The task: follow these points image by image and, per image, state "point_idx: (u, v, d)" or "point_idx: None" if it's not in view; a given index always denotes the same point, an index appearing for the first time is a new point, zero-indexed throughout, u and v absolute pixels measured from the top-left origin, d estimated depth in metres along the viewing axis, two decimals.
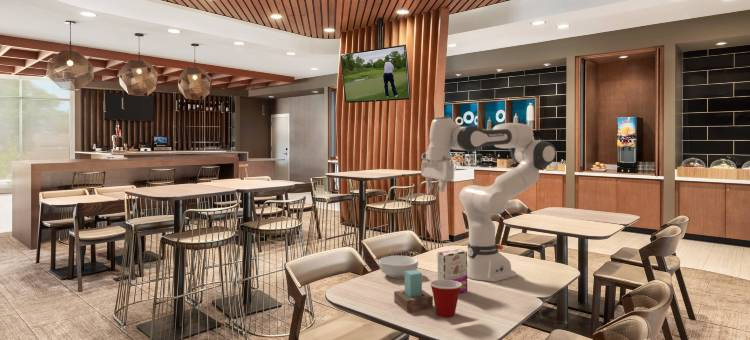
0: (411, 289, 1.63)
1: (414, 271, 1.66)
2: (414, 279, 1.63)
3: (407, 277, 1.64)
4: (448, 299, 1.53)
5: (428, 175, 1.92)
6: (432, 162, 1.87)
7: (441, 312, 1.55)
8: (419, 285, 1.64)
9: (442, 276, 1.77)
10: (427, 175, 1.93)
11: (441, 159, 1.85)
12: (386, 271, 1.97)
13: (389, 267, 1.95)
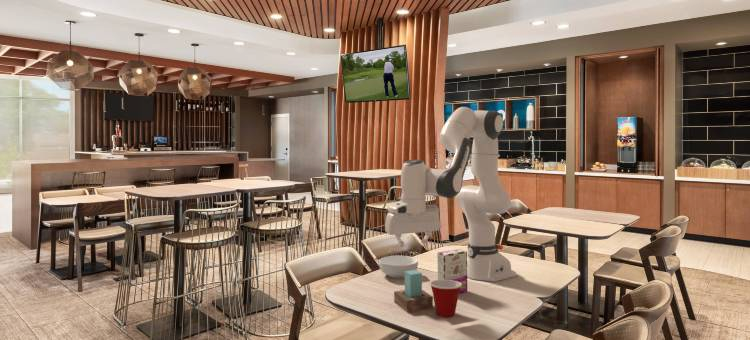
0: (411, 289, 1.63)
1: (414, 271, 1.66)
2: (414, 279, 1.63)
3: (407, 277, 1.64)
4: (448, 299, 1.53)
5: (406, 231, 1.61)
6: (419, 215, 1.61)
7: (441, 312, 1.55)
8: (419, 285, 1.64)
9: (442, 276, 1.77)
10: (404, 231, 1.60)
11: None
12: (386, 271, 1.97)
13: (389, 267, 1.95)
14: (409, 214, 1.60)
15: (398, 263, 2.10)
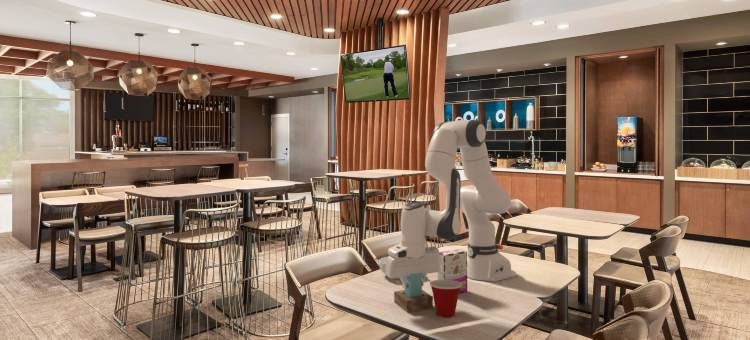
0: (411, 289, 1.63)
1: None
2: (414, 279, 1.63)
3: (408, 277, 1.64)
4: (448, 299, 1.53)
5: (406, 274, 1.62)
6: (419, 258, 1.62)
7: (441, 312, 1.55)
8: (419, 285, 1.64)
9: (442, 276, 1.77)
10: (404, 274, 1.62)
11: None
12: None
13: None
14: (409, 257, 1.62)
15: None
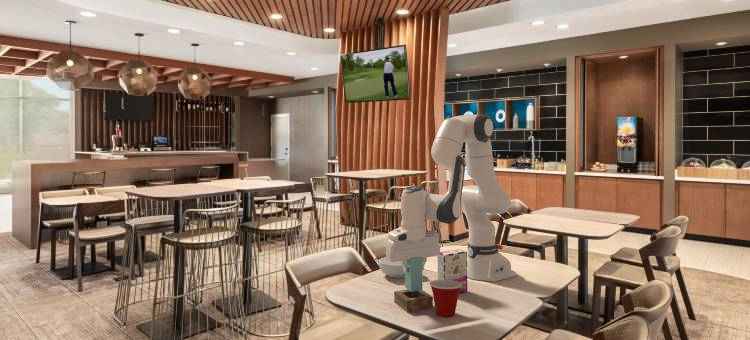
0: (412, 273, 1.62)
1: None
2: (414, 263, 1.62)
3: (408, 260, 1.64)
4: (448, 299, 1.53)
5: (406, 257, 1.62)
6: (419, 241, 1.62)
7: (441, 312, 1.55)
8: (419, 269, 1.63)
9: (442, 276, 1.77)
10: (404, 258, 1.61)
11: None
12: (386, 271, 1.97)
13: (389, 267, 1.95)
14: (409, 241, 1.61)
15: (398, 263, 2.10)
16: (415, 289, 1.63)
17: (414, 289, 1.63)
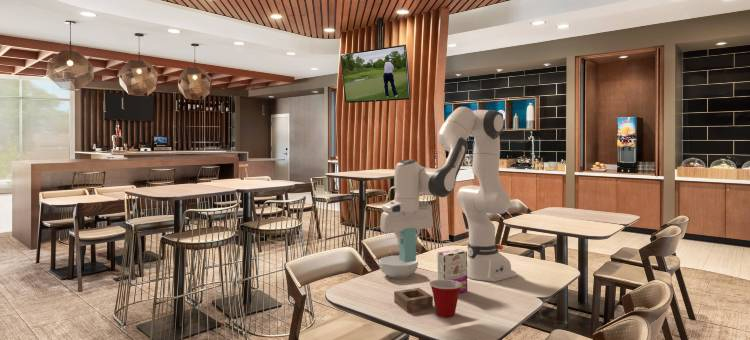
0: (405, 244, 1.66)
1: None
2: (408, 234, 1.66)
3: (402, 232, 1.68)
4: (448, 299, 1.53)
5: (400, 229, 1.66)
6: (412, 213, 1.66)
7: (441, 312, 1.55)
8: (413, 240, 1.67)
9: (442, 276, 1.77)
10: (398, 229, 1.65)
11: None
12: (386, 271, 1.97)
13: (389, 267, 1.95)
14: (403, 213, 1.65)
15: (398, 263, 2.10)
16: (409, 260, 1.67)
17: (408, 260, 1.67)
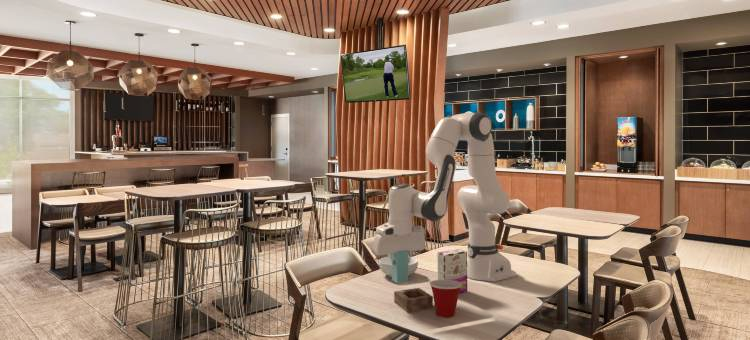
0: (398, 265, 1.72)
1: None
2: (401, 256, 1.72)
3: (395, 254, 1.73)
4: (448, 299, 1.53)
5: (393, 251, 1.71)
6: (405, 235, 1.71)
7: (441, 312, 1.55)
8: (405, 262, 1.73)
9: (442, 276, 1.77)
10: (391, 251, 1.71)
11: None
12: (386, 271, 1.97)
13: (389, 267, 1.95)
14: (396, 235, 1.71)
15: None
16: (401, 281, 1.73)
17: (400, 281, 1.73)
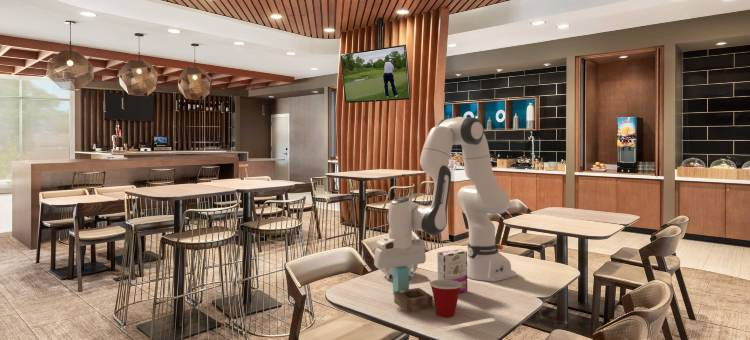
0: (399, 283, 1.73)
1: (402, 266, 1.76)
2: (401, 273, 1.73)
3: (395, 271, 1.74)
4: (448, 299, 1.53)
5: (393, 265, 1.72)
6: (405, 249, 1.72)
7: (441, 312, 1.55)
8: (406, 279, 1.74)
9: (442, 276, 1.77)
10: (391, 265, 1.71)
11: None
12: None
13: None
14: (396, 249, 1.71)
15: None
16: None
17: None
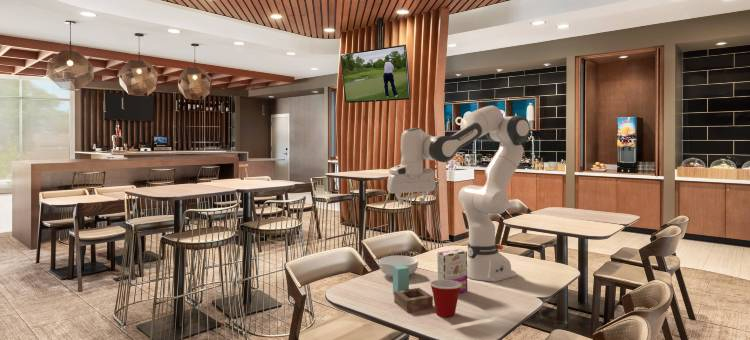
0: (398, 283, 1.73)
1: (402, 266, 1.76)
2: (401, 273, 1.73)
3: (395, 271, 1.74)
4: (448, 299, 1.53)
5: (405, 190, 1.82)
6: (417, 176, 1.82)
7: (441, 312, 1.55)
8: (406, 279, 1.74)
9: (442, 276, 1.77)
10: (403, 190, 1.82)
11: None
12: (386, 271, 1.97)
13: (389, 267, 1.95)
14: (408, 175, 1.82)
15: (398, 263, 2.10)
16: None
17: None
